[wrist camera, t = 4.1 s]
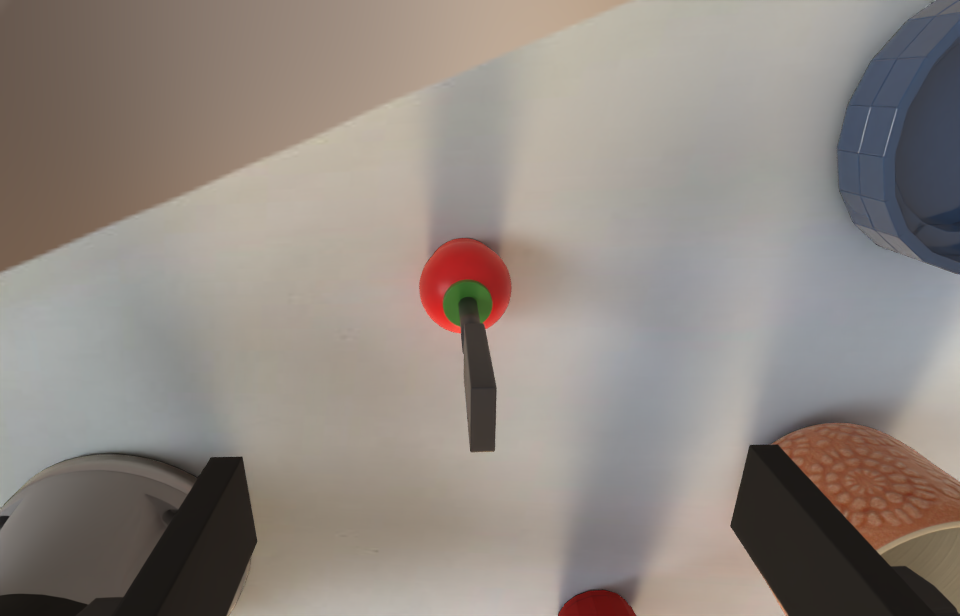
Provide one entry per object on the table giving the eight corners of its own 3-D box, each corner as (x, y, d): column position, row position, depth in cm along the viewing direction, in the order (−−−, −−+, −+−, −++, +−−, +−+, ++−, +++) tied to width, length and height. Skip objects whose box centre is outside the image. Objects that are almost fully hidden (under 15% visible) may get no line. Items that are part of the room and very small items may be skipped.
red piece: (422, 312, 32) (408, 485, 18) (419, 230, 30) (403, 354, 16) (504, 310, 32) (553, 480, 18) (506, 230, 30) (563, 350, 17)
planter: (772, 376, 35) (906, 492, 25) (924, 425, 38) (1103, 551, 27) (681, 521, 39) (766, 672, 29) (823, 558, 42) (947, 710, 32)
